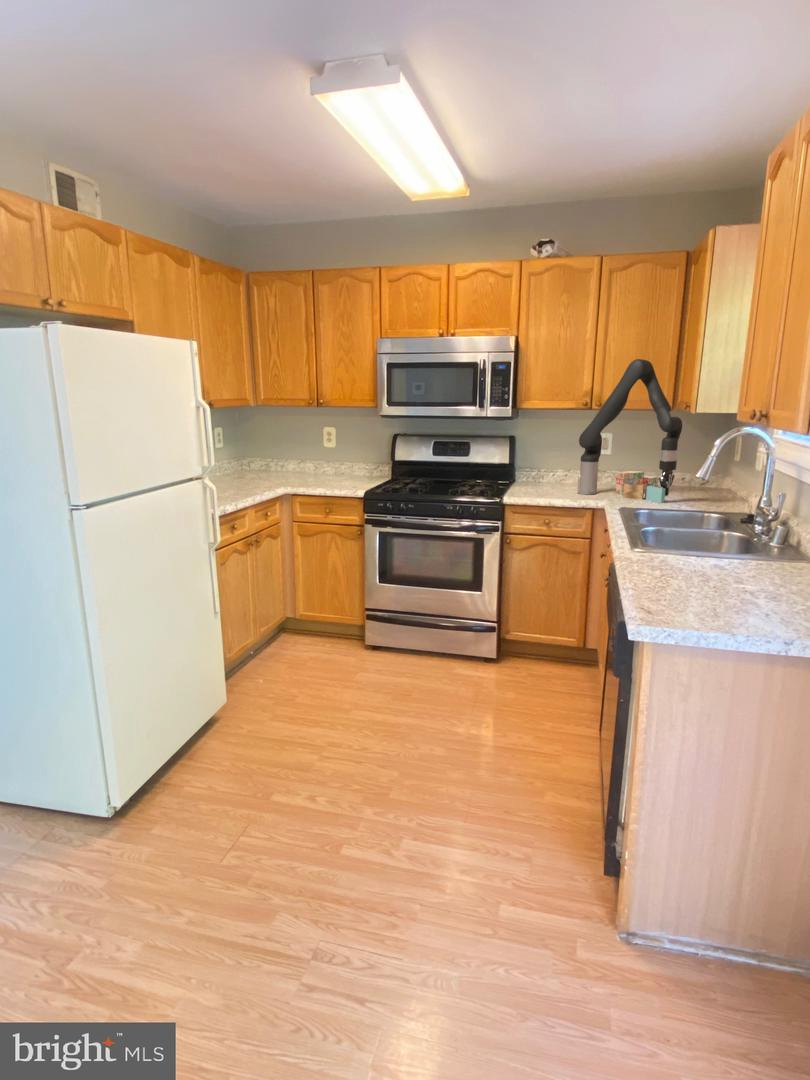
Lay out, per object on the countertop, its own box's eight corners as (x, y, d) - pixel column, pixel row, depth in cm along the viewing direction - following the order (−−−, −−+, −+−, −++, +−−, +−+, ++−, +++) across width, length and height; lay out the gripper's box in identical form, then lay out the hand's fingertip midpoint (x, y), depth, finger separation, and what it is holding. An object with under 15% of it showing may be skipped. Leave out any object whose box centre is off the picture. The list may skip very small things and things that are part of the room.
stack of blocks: (649, 493, 322) (651, 470, 319) (657, 494, 316) (659, 471, 313) (614, 494, 317) (616, 471, 314) (621, 496, 311) (623, 472, 308)
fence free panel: (645, 499, 294) (647, 486, 293) (649, 499, 295) (650, 485, 294) (660, 502, 285) (662, 488, 284) (664, 502, 286) (665, 488, 284)
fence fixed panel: (622, 499, 301) (624, 482, 299) (623, 498, 303) (625, 482, 301) (646, 501, 295) (648, 484, 293) (648, 500, 296) (649, 483, 294)
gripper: (666, 457, 292) (663, 493, 296) (654, 460, 283) (651, 496, 287) (681, 458, 286) (678, 494, 291) (670, 461, 277) (667, 498, 282)
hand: (665, 495), depth 289 cm, fingers closed
